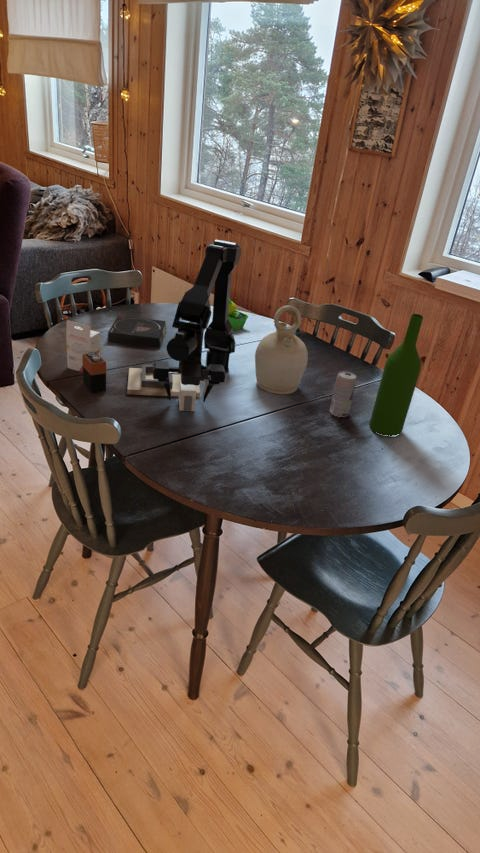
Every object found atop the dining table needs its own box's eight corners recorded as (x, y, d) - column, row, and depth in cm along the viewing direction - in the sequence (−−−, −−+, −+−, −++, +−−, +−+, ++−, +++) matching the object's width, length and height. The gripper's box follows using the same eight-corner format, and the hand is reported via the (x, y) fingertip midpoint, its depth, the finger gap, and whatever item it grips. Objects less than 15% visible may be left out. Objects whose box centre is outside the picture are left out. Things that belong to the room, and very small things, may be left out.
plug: (193, 400, 156) (194, 381, 153) (194, 412, 150) (196, 392, 147) (178, 400, 155) (180, 380, 152) (179, 412, 149) (181, 392, 146)
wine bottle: (400, 424, 158) (434, 313, 142) (402, 440, 150) (437, 324, 134) (368, 418, 159) (398, 307, 143) (368, 433, 151) (399, 318, 135)
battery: (91, 394, 152) (90, 360, 147) (82, 383, 157) (81, 350, 152) (106, 391, 154) (106, 358, 149) (97, 381, 159) (97, 348, 154)
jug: (256, 371, 178) (267, 293, 166) (304, 380, 176) (319, 303, 164) (246, 391, 165) (258, 309, 152) (298, 401, 163) (314, 319, 151)
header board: (196, 375, 170) (197, 365, 168) (199, 397, 158) (201, 386, 156) (129, 372, 166) (129, 361, 165) (127, 394, 154) (127, 382, 153)
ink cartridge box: (101, 369, 166) (101, 322, 158) (91, 375, 162) (90, 327, 154) (77, 362, 168) (75, 315, 161) (66, 368, 164) (64, 319, 157)
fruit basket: (248, 328, 210) (251, 299, 205) (231, 333, 204) (235, 303, 199) (226, 319, 217) (229, 290, 211) (209, 323, 211) (212, 293, 205)
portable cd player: (160, 349, 185) (160, 338, 183) (108, 343, 184) (108, 332, 182) (166, 331, 199) (167, 321, 197) (118, 326, 198) (118, 315, 196)
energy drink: (349, 411, 161) (358, 373, 155) (346, 419, 157) (355, 381, 151) (331, 407, 162) (339, 369, 156) (327, 414, 158) (336, 376, 152)
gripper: (154, 357, 136) (151, 413, 144) (230, 361, 139) (224, 416, 147) (154, 339, 145) (152, 393, 153) (225, 344, 149) (220, 396, 156)
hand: (186, 400), depth 152 cm, fingers open, 9 cm apart
